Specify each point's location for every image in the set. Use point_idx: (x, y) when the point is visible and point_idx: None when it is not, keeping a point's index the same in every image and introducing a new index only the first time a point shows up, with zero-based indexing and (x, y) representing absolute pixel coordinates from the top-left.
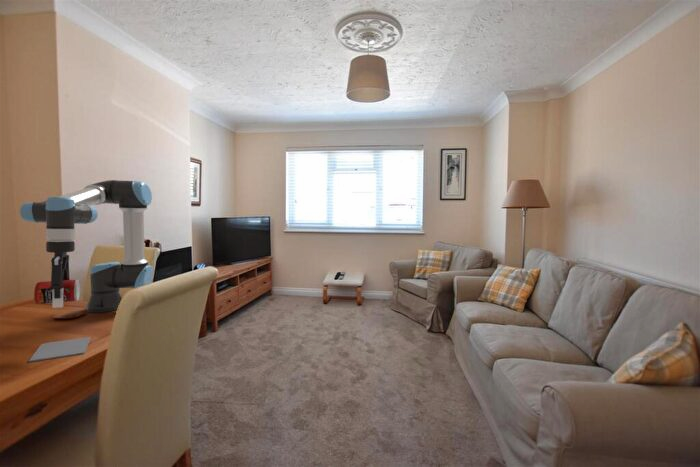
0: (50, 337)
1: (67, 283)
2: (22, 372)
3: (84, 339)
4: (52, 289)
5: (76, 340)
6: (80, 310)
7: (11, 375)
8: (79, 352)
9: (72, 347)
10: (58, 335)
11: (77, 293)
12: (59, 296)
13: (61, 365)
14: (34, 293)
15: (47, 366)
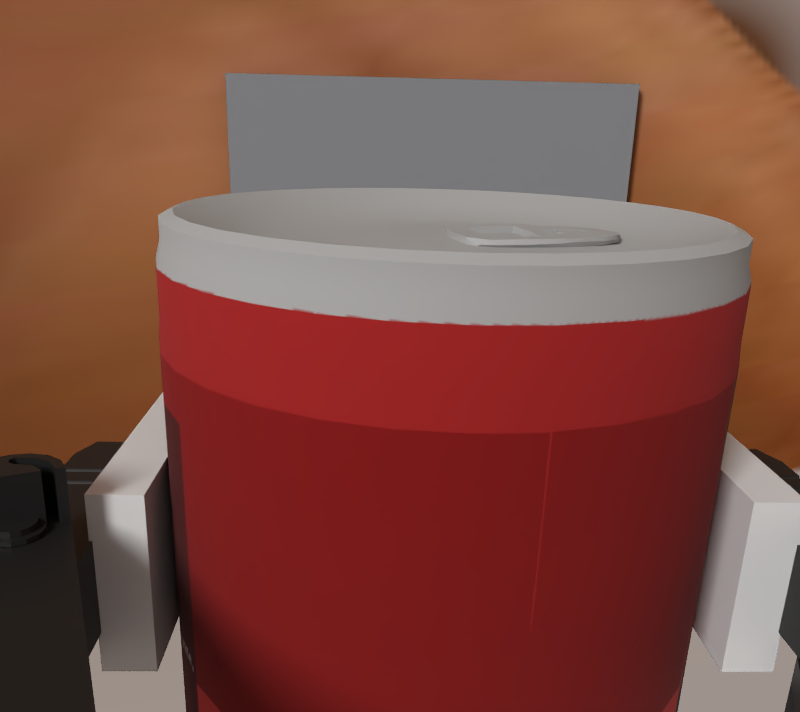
0: (59, 388)
1: (668, 488)
2: (767, 407)
3: (280, 118)
4: (766, 666)
5: (279, 180)
6: None
7: (779, 450)
8: (620, 121)
9: (462, 188)
10: (23, 341)
11: (374, 224)
12: (782, 469)
13: (793, 211)
14: None
15: (753, 293)
